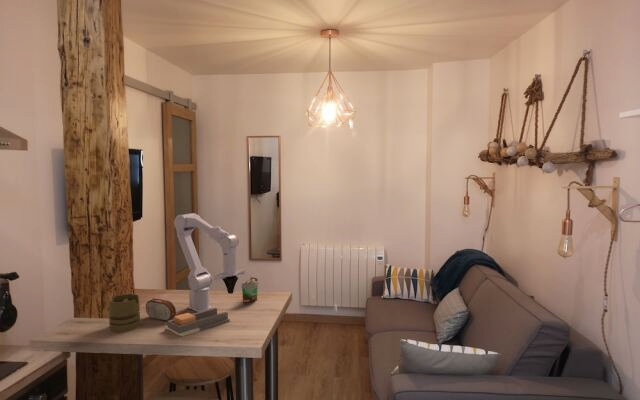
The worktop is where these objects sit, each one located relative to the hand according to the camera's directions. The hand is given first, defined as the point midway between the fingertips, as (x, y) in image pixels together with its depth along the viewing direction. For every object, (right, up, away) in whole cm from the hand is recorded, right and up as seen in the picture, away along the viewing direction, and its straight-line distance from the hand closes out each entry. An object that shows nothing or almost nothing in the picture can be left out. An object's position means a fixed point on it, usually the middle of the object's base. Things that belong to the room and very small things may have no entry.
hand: (230, 293), depth 186 cm
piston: (-40, -11, -14) cm, 44 cm away
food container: (+7, -8, +19) cm, 22 cm away
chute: (-11, -10, -12) cm, 19 cm away
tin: (-29, -10, -5) cm, 31 cm away
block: (-15, -10, -16) cm, 24 cm away
